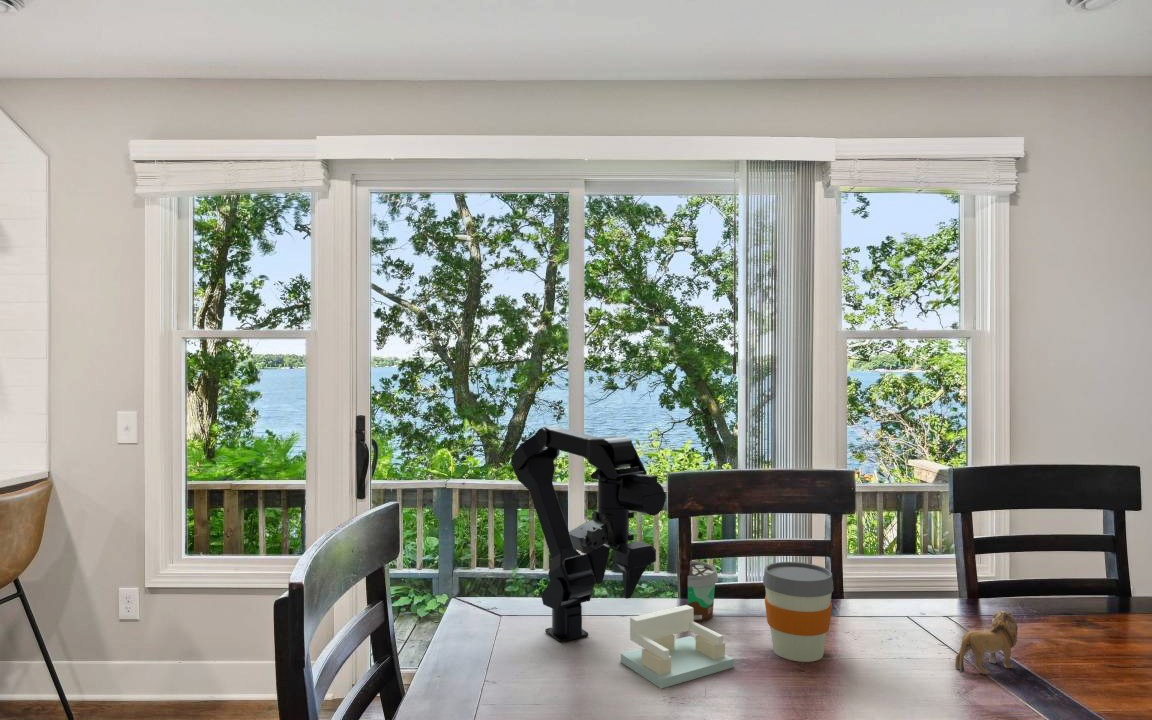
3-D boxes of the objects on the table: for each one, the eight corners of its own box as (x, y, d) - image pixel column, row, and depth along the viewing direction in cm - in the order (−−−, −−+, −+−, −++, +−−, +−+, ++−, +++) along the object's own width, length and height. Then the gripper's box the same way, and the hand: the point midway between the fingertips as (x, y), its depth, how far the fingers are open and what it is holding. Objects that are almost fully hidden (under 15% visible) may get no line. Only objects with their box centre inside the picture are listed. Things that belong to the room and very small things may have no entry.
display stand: (620, 661, 127) (620, 639, 127) (689, 643, 135) (689, 622, 135) (661, 688, 117) (661, 664, 117) (733, 667, 125) (733, 644, 125)
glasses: (630, 639, 127) (630, 617, 127) (686, 625, 134) (686, 604, 134) (664, 660, 119) (664, 636, 119) (723, 644, 125) (723, 621, 125)
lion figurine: (996, 653, 131) (996, 605, 131) (1026, 664, 126) (1026, 614, 126) (946, 670, 124) (946, 619, 124) (976, 682, 119) (976, 629, 119)
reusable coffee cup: (836, 644, 135) (836, 566, 135) (830, 671, 124) (830, 585, 124) (769, 634, 140) (769, 558, 140) (757, 658, 129) (757, 576, 129)
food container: (718, 628, 144) (718, 578, 144) (687, 625, 145) (687, 576, 145) (718, 607, 156) (718, 561, 156) (690, 605, 157) (690, 559, 157)
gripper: (550, 501, 134) (549, 583, 134) (605, 521, 118) (604, 615, 118) (599, 495, 139) (598, 574, 140) (658, 513, 124) (657, 603, 124)
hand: (613, 590), depth 130 cm, fingers open, 9 cm apart
